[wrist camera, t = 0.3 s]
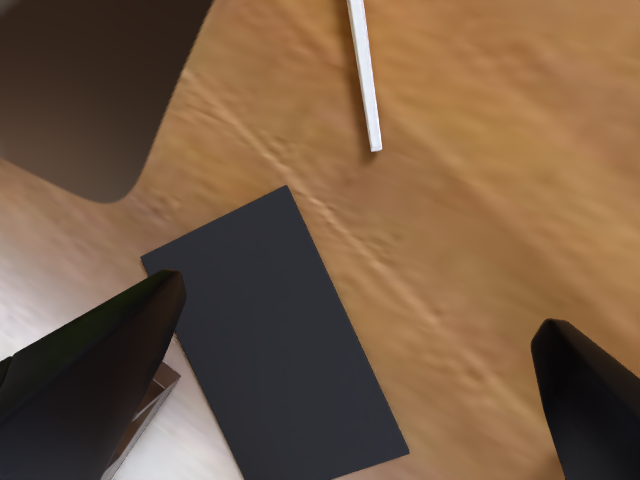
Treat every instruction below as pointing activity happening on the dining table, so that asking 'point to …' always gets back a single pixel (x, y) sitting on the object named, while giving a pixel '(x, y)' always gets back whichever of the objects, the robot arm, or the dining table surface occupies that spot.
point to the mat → (277, 347)
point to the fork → (365, 70)
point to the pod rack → (143, 415)
